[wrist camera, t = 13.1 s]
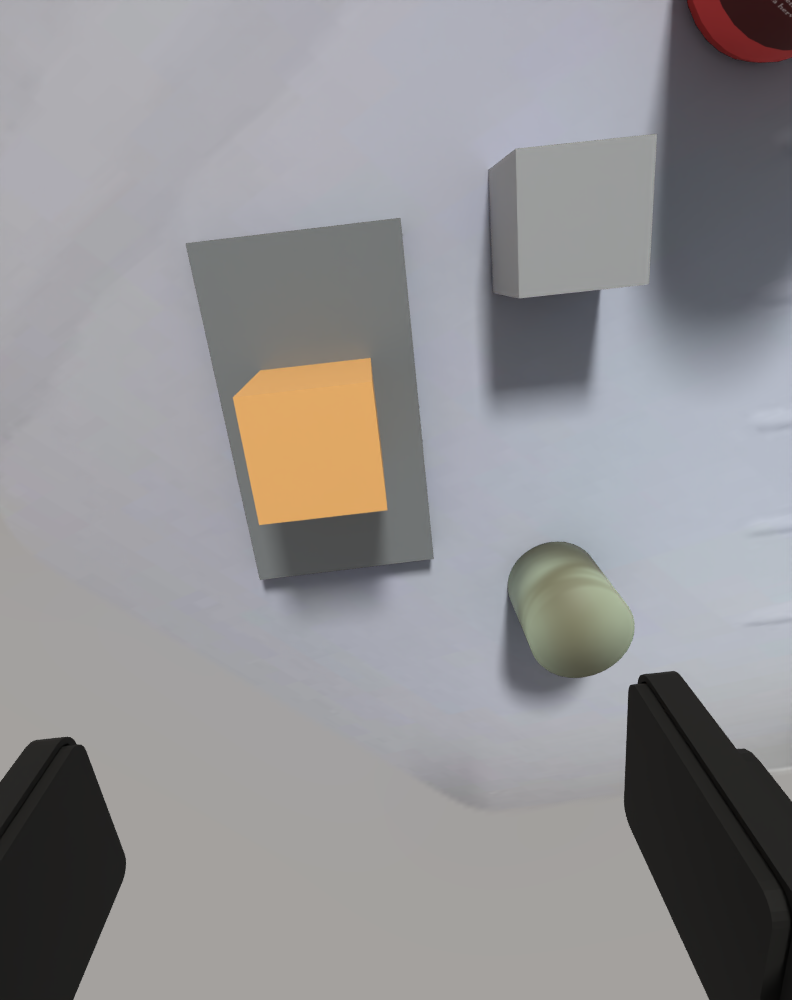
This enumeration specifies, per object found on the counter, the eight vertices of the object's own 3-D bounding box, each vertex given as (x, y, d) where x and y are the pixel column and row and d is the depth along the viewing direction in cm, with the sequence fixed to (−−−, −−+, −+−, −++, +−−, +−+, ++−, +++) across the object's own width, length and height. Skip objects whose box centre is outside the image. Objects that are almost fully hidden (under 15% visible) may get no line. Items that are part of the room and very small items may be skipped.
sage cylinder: (592, 532, 32) (629, 577, 27) (602, 610, 34) (638, 665, 29) (500, 553, 32) (522, 601, 28) (515, 629, 34) (538, 687, 29)
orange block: (370, 357, 27) (372, 381, 21) (383, 463, 29) (387, 510, 23) (260, 370, 27) (232, 397, 21) (279, 475, 29) (259, 525, 23)
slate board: (398, 220, 26) (400, 217, 25) (431, 548, 32) (433, 558, 31) (193, 244, 26) (185, 243, 25) (263, 569, 32) (260, 579, 31)
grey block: (603, 158, 26) (657, 133, 21) (600, 281, 27) (649, 284, 23) (488, 170, 26) (515, 148, 21) (492, 292, 27) (519, 298, 23)
